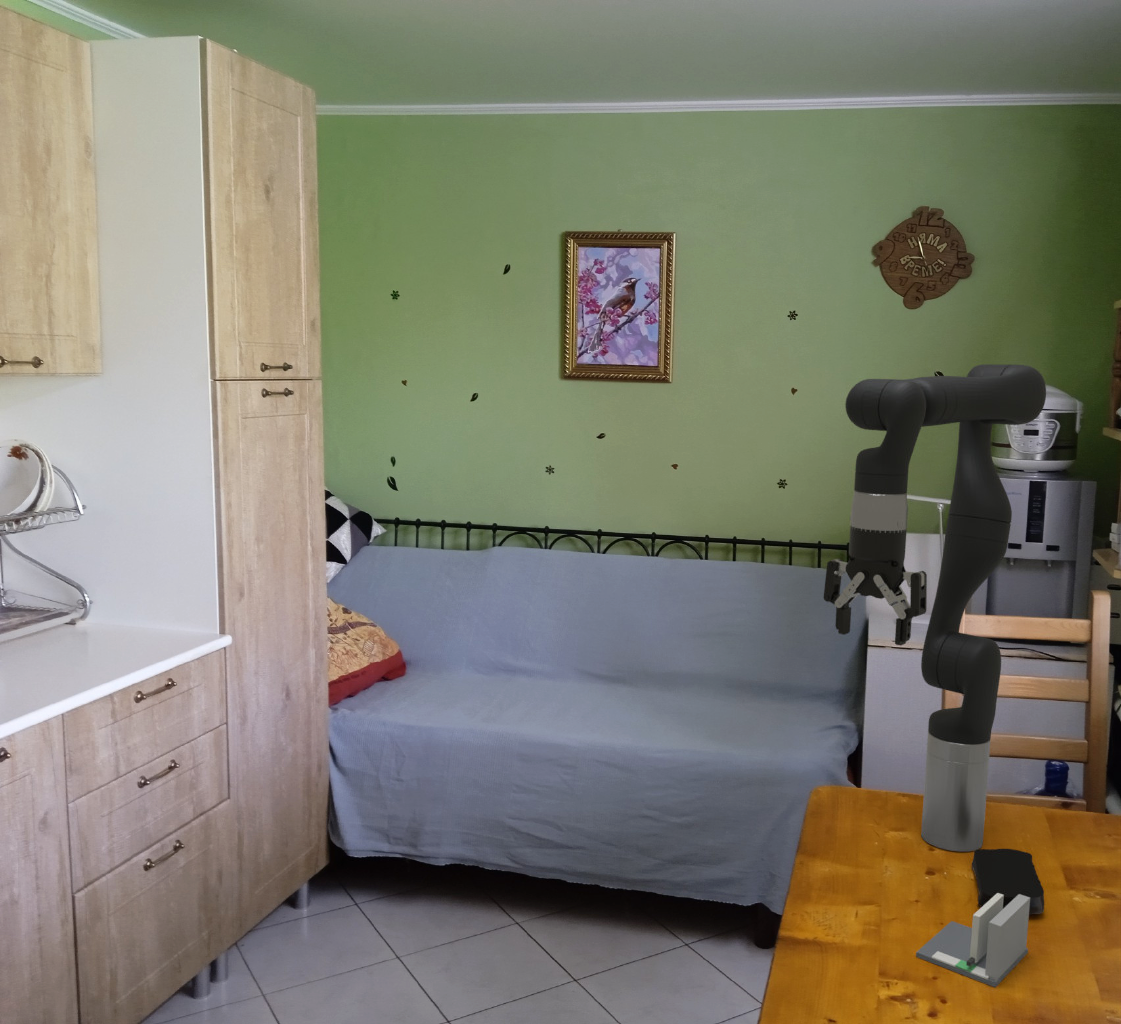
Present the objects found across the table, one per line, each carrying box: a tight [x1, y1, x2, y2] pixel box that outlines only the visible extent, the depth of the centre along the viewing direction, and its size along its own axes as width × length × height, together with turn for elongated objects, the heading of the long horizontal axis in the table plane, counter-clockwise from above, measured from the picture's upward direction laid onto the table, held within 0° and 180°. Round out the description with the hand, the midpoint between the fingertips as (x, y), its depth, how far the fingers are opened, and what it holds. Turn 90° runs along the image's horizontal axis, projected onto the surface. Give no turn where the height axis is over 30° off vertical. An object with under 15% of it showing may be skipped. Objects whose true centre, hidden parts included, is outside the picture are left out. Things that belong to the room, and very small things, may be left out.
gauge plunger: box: [966, 893, 1004, 967], centre depth 138 cm, size 9×1×6 cm, turn 138°
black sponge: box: [971, 848, 1045, 915], centre depth 157 cm, size 16×8×4 cm, turn 164°
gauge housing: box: [915, 894, 1030, 988], centre depth 139 cm, size 11×10×8 cm
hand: (871, 638), depth 154 cm, fingers open, 8 cm apart
